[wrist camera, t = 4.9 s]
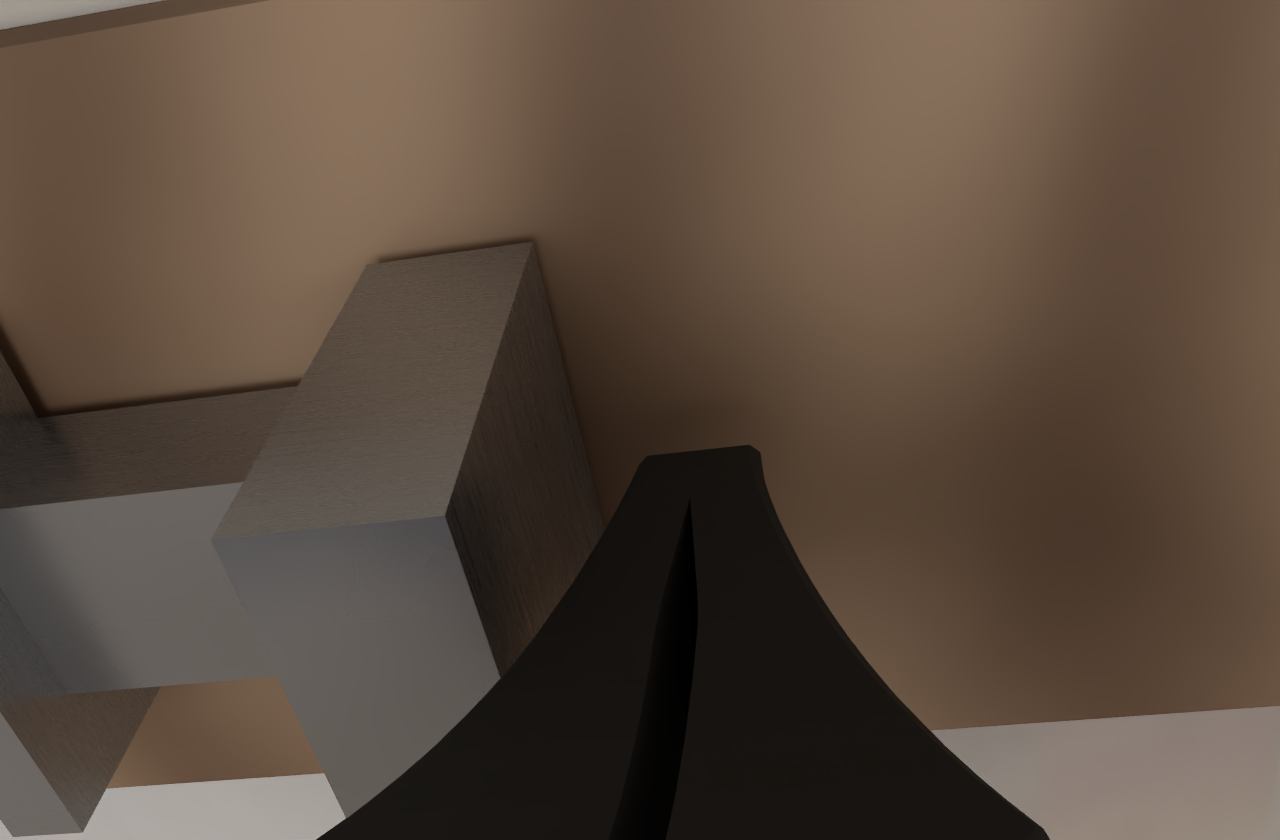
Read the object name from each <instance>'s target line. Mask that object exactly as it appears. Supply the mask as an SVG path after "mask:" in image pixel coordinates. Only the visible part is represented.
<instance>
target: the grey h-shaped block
mask: <svg viewBox="0 0 1280 840" xmlns="http://www.w3.org/2000/svg"><path fill="white" fill-rule="evenodd" d="M604 531H605V529H604V525H603V521H602V517H601V513H600V509H599V505H598V501H597V497H596V493H595V489H594V485H593V481H592V477H591V473H590V469H589V465H588V461H587V457H586V453H585V449H584V445H583V441H582V437H581V433H580V429H579V425H578V421H577V417H576V413H575V409H574V405H573V401H572V397H571V393H570V389H569V385H568V381H567V377H566V373H565V369H564V365H563V361H562V357H561V353H560V349H559V345H558V341H557V337H556V333H555V329H554V325H553V321H552V317H551V313H550V309H549V305H548V301H547V297H546V293H545V289H544V285H543V281H542V277H541V273H540V269H539V265H538V261H537V257H536V253H535V249H534V245H533V242H527V243H520V244H513V245H505V246H498V247H491V248H484V249H477V250H469V251H462V252H455V253H448V254H441V255H434V256H426V257H419V258H412V259H405V260H398V261H390V262H383V263H376V264H369V265H366V267H365V269H364V271H363V272H362V274H361V276H360V278H359V279H358V281H357V283H356V285H355V286H354V288H353V290H352V292H351V293H350V295H349V297H348V299H347V300H346V302H345V304H344V306H343V308H342V309H341V311H340V313H339V315H338V316H337V318H336V320H335V322H334V323H333V325H332V327H331V329H330V330H329V332H328V334H327V336H326V337H325V339H324V341H323V343H322V345H321V346H320V348H319V350H318V352H317V353H316V355H315V357H314V359H313V360H312V362H311V364H310V366H309V367H308V369H307V371H306V373H305V374H304V376H303V378H302V380H301V381H300V383H299V385H298V386H295V387H287V388H279V389H270V390H262V391H254V392H246V393H238V394H230V395H222V396H214V397H206V398H198V399H190V400H182V401H173V402H165V403H157V404H149V405H141V406H133V407H125V408H117V409H109V410H101V411H93V412H85V413H76V414H68V415H60V416H52V417H44V418H37V416H36V414H35V412H34V411H33V409H32V407H31V405H30V403H29V402H28V400H27V398H26V396H25V394H24V392H23V391H22V389H21V387H20V385H19V383H18V382H17V380H16V378H15V376H14V374H13V373H12V371H11V369H10V367H9V365H8V363H7V362H6V360H5V358H4V356H3V354H2V353H1V351H0V820H1V821H2V822H3V824H4V825H5V826H6V828H7V829H8V831H9V832H10V833H11V835H12V836H13V837H19V836H35V835H50V834H66V833H81V832H83V831H84V829H85V827H86V825H87V823H88V821H89V820H90V818H91V816H92V814H93V812H94V810H95V808H96V807H97V805H98V803H99V801H100V799H101V797H102V795H103V794H104V792H105V790H106V788H107V786H108V784H109V782H110V780H111V779H112V777H113V775H114V773H115V771H116V769H117V767H118V766H119V764H120V762H121V760H122V758H123V756H124V754H125V753H126V751H127V749H128V747H129V745H130V743H131V741H132V739H133V738H134V736H135V734H136V732H137V730H138V728H139V726H140V725H141V723H142V721H143V719H144V717H145V715H146V713H147V711H148V710H149V708H150V706H151V704H152V702H153V700H154V698H155V697H156V695H157V693H158V691H159V689H160V687H161V686H170V685H182V684H194V683H205V682H217V681H229V680H241V679H253V678H265V677H278V679H279V681H280V683H281V685H282V687H283V690H284V692H285V694H286V696H287V698H288V700H289V702H290V704H291V706H292V708H293V710H294V712H295V714H296V716H297V718H298V720H299V722H300V724H301V726H302V728H303V730H304V733H305V735H306V737H307V739H308V741H309V743H310V745H311V747H312V749H313V751H314V753H315V755H316V757H317V759H318V761H319V763H320V765H321V767H322V769H323V771H324V773H325V776H326V778H327V780H328V782H329V784H330V786H331V788H332V790H333V792H334V794H335V796H336V798H337V800H338V802H339V804H340V806H341V808H342V810H343V812H344V814H345V816H346V818H348V817H349V816H350V815H352V814H353V813H354V812H356V811H357V810H358V809H359V808H361V807H362V806H363V805H365V804H366V803H367V802H369V801H370V800H371V799H372V798H374V797H375V796H376V795H377V794H379V793H380V792H381V791H382V790H384V789H385V788H386V787H387V786H388V785H390V784H391V783H392V782H393V781H395V780H396V779H397V778H398V777H400V776H401V775H402V774H403V773H404V772H405V771H407V770H408V769H409V768H410V767H411V766H412V765H414V764H415V763H416V762H417V761H418V760H419V759H420V758H422V757H423V756H424V755H425V754H426V753H427V752H428V751H430V750H431V749H432V748H433V747H434V746H435V745H436V744H437V743H438V742H439V741H440V740H441V739H442V738H443V737H444V736H445V735H446V734H447V733H448V732H449V731H450V730H451V729H452V728H453V727H454V726H455V725H457V724H458V723H459V722H460V721H461V720H462V719H463V718H464V717H465V716H466V715H467V714H468V712H469V711H470V710H471V709H472V708H473V707H474V706H475V705H476V704H477V703H478V702H479V701H480V700H481V699H482V698H483V697H484V696H485V695H486V694H487V693H488V692H489V690H490V689H491V688H492V687H493V686H494V685H495V684H496V683H497V681H498V680H499V679H500V678H501V677H502V676H503V674H504V673H505V672H506V671H507V670H508V669H509V667H510V666H511V665H512V664H513V663H514V662H515V660H516V659H517V658H518V657H519V655H520V654H521V653H522V652H523V651H524V649H525V648H526V647H527V645H528V644H529V643H530V642H531V640H532V639H533V638H534V636H535V635H536V634H537V633H538V631H539V630H540V629H541V627H542V626H543V624H544V623H545V622H546V620H547V619H548V617H549V616H550V614H551V613H552V612H553V610H554V609H555V607H556V606H557V604H558V603H559V602H560V600H561V599H562V597H563V596H564V595H565V593H566V592H567V590H568V589H569V587H570V586H571V585H572V583H573V582H574V580H575V578H576V577H577V575H578V574H579V572H580V571H581V569H582V567H583V566H584V564H585V562H586V561H587V559H588V558H589V556H590V554H591V553H592V551H593V549H594V548H595V546H596V544H597V543H598V541H599V539H600V538H601V536H602V535H603V533H604Z"/></svg>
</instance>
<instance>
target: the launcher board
mask: <svg viewBox="0 0 1280 840" xmlns="http://www.w3.org/2000/svg"><path fill="white" fill-rule="evenodd" d="M527 242H533V245H534V249H535V253H536V257H537V261H538V265H539V269H540V273H541V277H542V281H543V285H544V289H545V293H546V297H547V301H548V305H549V309H550V313H551V317H552V321H553V325H554V329H555V333H556V337H557V341H558V345H559V349H560V353H561V357H562V361H563V365H564V369H565V373H566V377H567V381H568V385H569V389H570V393H571V397H572V401H573V405H574V409H575V413H576V417H577V421H578V425H579V429H580V433H581V437H582V441H583V445H584V449H585V453H586V457H587V461H588V465H589V469H590V473H591V477H592V481H593V485H594V489H595V493H596V497H597V501H598V505H599V509H600V513H601V517H602V521H603V525H604V529H606V528H607V526H608V524H609V522H610V520H611V519H612V517H613V515H614V513H615V511H616V510H617V508H618V506H619V504H620V502H621V500H622V498H623V496H624V494H625V493H626V491H627V489H628V487H629V485H630V483H631V481H632V479H633V476H634V474H635V472H636V470H637V468H638V466H639V464H640V463H641V462H642V461H643V460H644V459H645V458H646V456H650V455H659V454H668V453H677V452H686V451H695V450H705V449H714V448H723V447H732V446H741V445H751V446H752V447H754V448H755V449H757V450H758V451H759V452H761V458H762V465H763V472H764V478H765V483H766V486H767V489H768V492H769V495H770V498H771V500H772V503H773V505H774V508H775V510H776V513H777V515H778V518H779V520H780V522H781V524H782V526H783V529H784V531H785V533H786V535H787V537H788V538H789V540H790V542H791V544H792V546H793V548H794V550H795V552H796V554H797V556H798V558H799V560H800V562H801V564H802V565H803V567H804V569H805V570H806V572H807V574H808V576H809V577H810V579H811V581H812V583H813V584H814V586H815V587H816V589H817V590H818V592H819V594H820V595H821V597H822V598H823V600H824V602H825V603H826V605H827V606H828V608H829V609H830V611H831V612H832V614H833V615H834V617H835V618H836V620H837V621H838V623H839V624H840V625H841V627H842V628H843V630H844V631H845V632H846V634H847V635H848V637H849V638H850V639H851V641H852V642H853V643H854V644H855V646H856V647H857V648H858V650H859V651H860V652H861V654H862V655H863V656H864V658H865V659H866V660H867V661H868V663H869V664H870V665H871V666H872V667H873V669H874V670H875V671H876V672H877V673H878V675H879V676H880V677H881V678H882V679H883V681H884V682H885V683H886V684H887V685H888V687H889V688H890V689H891V690H892V691H893V692H894V694H895V695H896V696H897V697H898V698H899V699H900V700H901V701H902V702H903V703H904V704H905V705H906V706H907V707H908V708H909V709H910V710H911V711H912V712H913V713H914V714H915V715H916V716H917V718H918V719H919V720H920V721H921V722H922V723H923V724H924V725H925V726H926V727H927V728H928V729H929V730H941V729H955V728H969V727H983V726H998V725H1012V724H1026V723H1040V722H1054V721H1069V720H1083V719H1097V718H1111V717H1125V716H1139V715H1154V714H1168V713H1182V712H1196V711H1210V710H1224V709H1239V708H1253V707H1267V706H1280V0H166V1H161V2H155V3H150V4H144V5H139V6H133V7H127V8H122V9H116V10H111V11H105V12H100V13H94V14H88V15H83V16H77V17H72V18H66V19H61V20H55V21H49V22H44V23H38V24H33V25H27V26H22V27H16V28H10V29H5V30H0V351H1V353H2V354H3V356H4V358H5V360H6V362H7V363H8V365H9V367H10V369H11V371H12V373H13V374H14V376H15V378H16V380H17V382H18V383H19V385H20V387H21V389H22V391H23V392H24V394H25V396H26V398H27V400H28V402H29V403H30V405H31V407H32V409H33V411H34V412H35V414H36V416H37V418H44V417H52V416H60V415H68V414H76V413H85V412H93V411H101V410H109V409H117V408H125V407H133V406H141V405H149V404H157V403H165V402H173V401H182V400H190V399H198V398H206V397H214V396H222V395H230V394H238V393H246V392H254V391H262V390H270V389H279V388H287V387H295V386H298V385H299V383H300V381H301V380H302V378H303V376H304V374H305V373H306V371H307V369H308V367H309V366H310V364H311V362H312V360H313V359H314V357H315V355H316V353H317V352H318V350H319V348H320V346H321V345H322V343H323V341H324V339H325V337H326V336H327V334H328V332H329V330H330V329H331V327H332V325H333V323H334V322H335V320H336V318H337V316H338V315H339V313H340V311H341V309H342V308H343V306H344V304H345V302H346V300H347V299H348V297H349V295H350V293H351V292H352V290H353V288H354V286H355V285H356V283H357V281H358V279H359V278H360V276H361V274H362V272H363V271H364V269H365V267H366V265H369V264H376V263H383V262H390V261H398V260H405V259H412V258H419V257H426V256H434V255H441V254H448V253H455V252H462V251H469V250H477V249H484V248H491V247H498V246H505V245H513V244H520V243H527ZM317 773H324V771H323V769H322V767H321V765H320V763H319V761H318V759H317V757H316V755H315V753H314V751H313V749H312V747H311V745H310V743H309V741H308V739H307V737H306V735H305V733H304V730H303V728H302V726H301V724H300V722H299V720H298V718H297V716H296V714H295V712H294V710H293V708H292V706H291V704H290V702H289V700H288V698H287V696H286V694H285V692H284V690H283V687H282V685H281V683H280V681H279V679H278V677H265V678H253V679H241V680H229V681H217V682H205V683H194V684H182V685H170V686H161V687H160V689H159V691H158V693H157V695H156V697H155V698H154V700H153V702H152V704H151V706H150V708H149V710H148V711H147V713H146V715H145V717H144V719H143V721H142V723H141V725H140V726H139V728H138V730H137V732H136V734H135V736H134V738H133V739H132V741H131V743H130V745H129V747H128V749H127V751H126V753H125V754H124V756H123V758H122V760H121V762H120V764H119V766H118V767H117V769H116V771H115V773H114V775H113V777H112V779H111V780H110V782H109V784H108V786H107V788H119V787H133V786H147V785H161V784H175V783H190V782H204V781H218V780H232V779H246V778H260V777H275V776H289V775H303V774H317Z"/></svg>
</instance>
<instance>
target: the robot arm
mask: <svg viewBox="0 0 1280 840" xmlns="http://www.w3.org/2000/svg"><path fill="white" fill-rule="evenodd" d="M316 840H1050V839H1049V837H1048V836H1047V834H1046V832H1045V831H1044V829H1043V828H1042V827H1041V826H1039V825H1038V824H1037V823H1035V822H1034V821H1033V820H1032V819H1030V818H1029V817H1028V816H1026V815H1025V814H1024V813H1023V812H1021V811H1020V810H1019V809H1017V808H1016V807H1015V806H1014V805H1012V804H1011V803H1010V802H1008V801H1007V800H1006V799H1005V798H1004V797H1002V796H1001V795H1000V794H999V793H998V792H996V791H995V790H994V789H993V788H992V787H990V786H989V785H988V784H987V783H986V782H984V781H983V780H982V779H981V778H980V777H979V776H978V775H976V774H975V773H974V772H973V771H972V770H971V769H970V768H969V767H968V766H967V765H965V764H964V763H963V762H962V761H961V760H960V759H959V758H958V757H957V756H956V755H954V754H953V753H952V752H951V751H950V750H949V749H948V748H947V747H946V746H945V745H944V744H943V743H942V742H941V741H940V740H939V739H938V738H937V737H936V736H935V735H934V734H933V733H932V732H931V731H930V730H929V729H928V728H927V727H926V726H925V725H924V724H923V723H922V722H921V721H920V720H919V719H918V718H917V716H916V715H915V714H914V713H913V712H912V711H911V710H910V709H909V708H908V707H907V706H906V705H905V704H904V703H903V702H902V701H901V700H900V699H899V698H898V697H897V696H896V695H895V694H894V692H893V691H892V690H891V689H890V688H889V687H888V685H887V684H886V683H885V682H884V681H883V679H882V678H881V677H880V676H879V675H878V673H877V672H876V671H875V670H874V669H873V667H872V666H871V665H870V664H869V663H868V661H867V660H866V659H865V658H864V656H863V655H862V654H861V652H860V651H859V650H858V648H857V647H856V646H855V644H854V643H853V642H852V641H851V639H850V638H849V637H848V635H847V634H846V632H845V631H844V630H843V628H842V627H841V625H840V624H839V623H838V621H837V620H836V618H835V617H834V615H833V614H832V612H831V611H830V609H829V608H828V606H827V605H826V603H825V602H824V600H823V598H822V597H821V595H820V594H819V592H818V590H817V589H816V587H815V586H814V584H813V583H812V581H811V579H810V577H809V576H808V574H807V572H806V570H805V569H804V567H803V565H802V564H801V562H800V560H799V558H798V556H797V554H796V552H795V550H794V548H793V546H792V544H791V542H790V540H789V538H788V537H787V535H786V533H785V531H784V529H783V526H782V524H781V522H780V520H779V518H778V515H777V513H776V510H775V508H774V505H773V503H772V500H771V498H770V495H769V492H768V489H767V486H766V483H765V478H764V472H763V465H762V458H761V452H759V451H758V450H757V449H755V448H754V447H752V446H751V445H741V446H732V447H723V448H714V449H705V450H695V451H686V452H677V453H668V454H659V455H650V456H646V458H645V459H644V460H643V461H642V462H641V463H640V464H639V466H638V468H637V470H636V472H635V474H634V476H633V479H632V481H631V483H630V485H629V487H628V489H627V491H626V493H625V494H624V496H623V498H622V500H621V502H620V504H619V506H618V508H617V510H616V511H615V513H614V515H613V517H612V519H611V520H610V522H609V524H608V526H607V528H606V529H605V531H604V533H603V535H602V536H601V538H600V539H599V541H598V543H597V544H596V546H595V548H594V549H593V551H592V553H591V554H590V556H589V558H588V559H587V561H586V562H585V564H584V566H583V567H582V569H581V571H580V572H579V574H578V575H577V577H576V578H575V580H574V582H573V583H572V585H571V586H570V587H569V589H568V590H567V592H566V593H565V595H564V596H563V597H562V599H561V600H560V602H559V603H558V604H557V606H556V607H555V609H554V610H553V612H552V613H551V614H550V616H549V617H548V619H547V620H546V622H545V623H544V624H543V626H542V627H541V629H540V630H539V631H538V633H537V634H536V635H535V636H534V638H533V639H532V640H531V642H530V643H529V644H528V645H527V647H526V648H525V649H524V651H523V652H522V653H521V654H520V655H519V657H518V658H517V659H516V660H515V662H514V663H513V664H512V665H511V666H510V667H509V669H508V670H507V671H506V672H505V673H504V674H503V676H502V677H501V678H500V679H499V680H498V681H497V683H496V684H495V685H494V686H493V687H492V688H491V689H490V690H489V692H488V693H487V694H486V695H485V696H484V697H483V698H482V699H481V700H480V701H479V702H478V703H477V704H476V705H475V706H474V707H473V708H472V709H471V710H470V711H469V712H468V714H467V715H466V716H465V717H464V718H463V719H462V720H461V721H460V722H459V723H458V724H457V725H455V726H454V727H453V728H452V729H451V730H450V731H449V732H448V733H447V734H446V735H445V736H444V737H443V738H442V739H441V740H440V741H439V742H438V743H437V744H436V745H435V746H434V747H433V748H432V749H431V750H430V751H428V752H427V753H426V754H425V755H424V756H423V757H422V758H420V759H419V760H418V761H417V762H416V763H415V764H414V765H412V766H411V767H410V768H409V769H408V770H407V771H405V772H404V773H403V774H402V775H401V776H400V777H398V778H397V779H396V780H395V781H393V782H392V783H391V784H390V785H388V786H387V787H386V788H385V789H384V790H382V791H381V792H380V793H379V794H377V795H376V796H375V797H374V798H372V799H371V800H370V801H369V802H367V803H366V804H365V805H363V806H362V807H361V808H359V809H358V810H357V811H356V812H354V813H353V814H352V815H350V816H349V817H348V818H346V819H345V820H343V821H342V822H340V823H339V824H338V825H336V826H335V827H333V828H332V829H330V830H329V831H328V832H326V833H325V834H323V835H322V836H321V837H319V838H318V839H316Z"/></svg>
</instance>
